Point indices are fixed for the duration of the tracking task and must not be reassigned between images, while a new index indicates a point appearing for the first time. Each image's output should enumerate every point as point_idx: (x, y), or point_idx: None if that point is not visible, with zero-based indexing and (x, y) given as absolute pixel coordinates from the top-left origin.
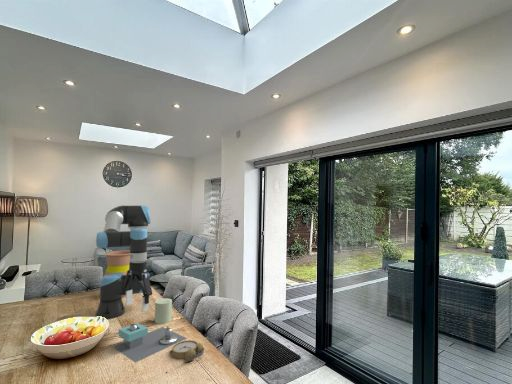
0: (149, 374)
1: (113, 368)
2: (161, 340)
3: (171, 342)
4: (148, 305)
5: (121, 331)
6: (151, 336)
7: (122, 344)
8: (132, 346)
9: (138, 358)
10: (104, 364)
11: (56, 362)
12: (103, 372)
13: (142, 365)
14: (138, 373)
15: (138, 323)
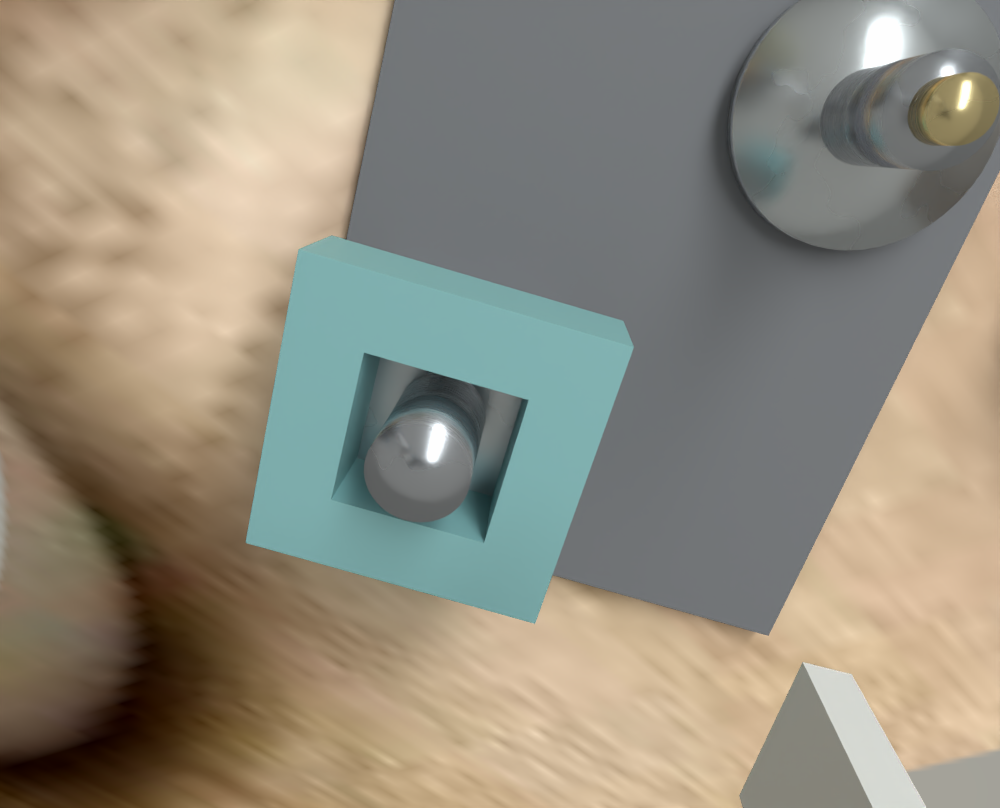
0: (997, 692)
1: (613, 718)
2: (797, 210)
3: (967, 187)
4: (910, 782)
5: (326, 558)
6: (526, 109)
7: None
8: None
9: (749, 579)
10: (486, 701)
11: (98, 787)
12: (580, 775)
13: (841, 614)
14: (886, 708)
15: (337, 263)
